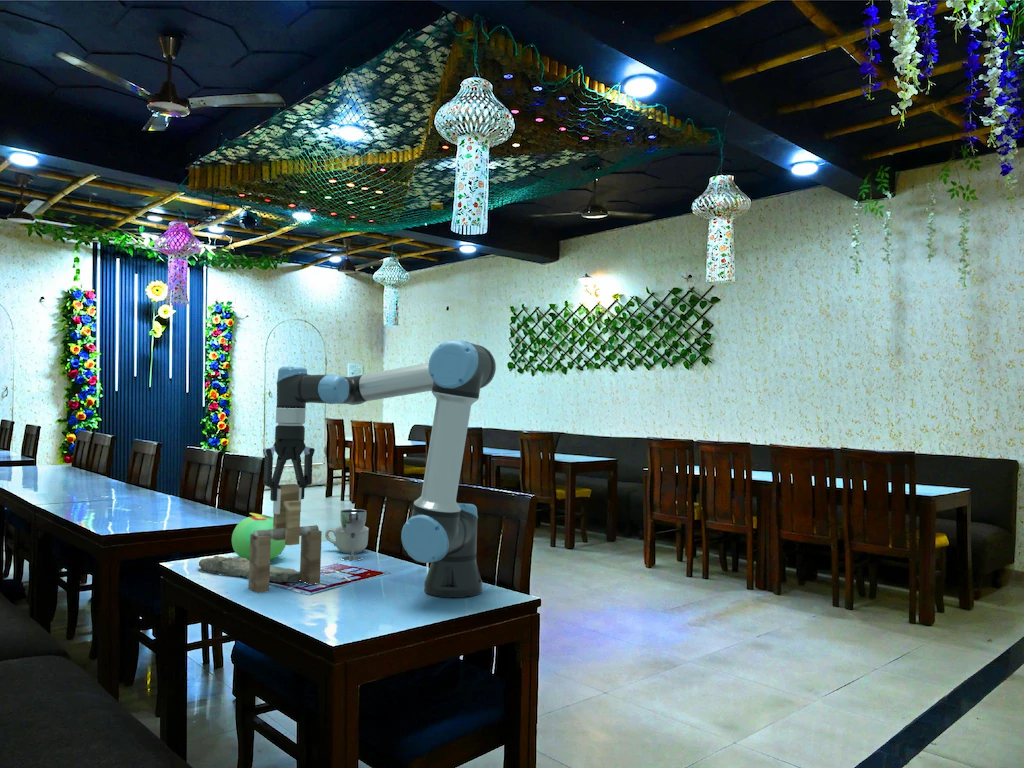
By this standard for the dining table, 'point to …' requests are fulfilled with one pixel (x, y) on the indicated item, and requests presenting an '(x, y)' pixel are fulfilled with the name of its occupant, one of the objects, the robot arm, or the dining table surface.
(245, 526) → the green bird toy
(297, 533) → the oak hanger
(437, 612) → the dining table surface
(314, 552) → the rod stand
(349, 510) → the wine glass
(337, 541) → the teacup
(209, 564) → the elongated rock
